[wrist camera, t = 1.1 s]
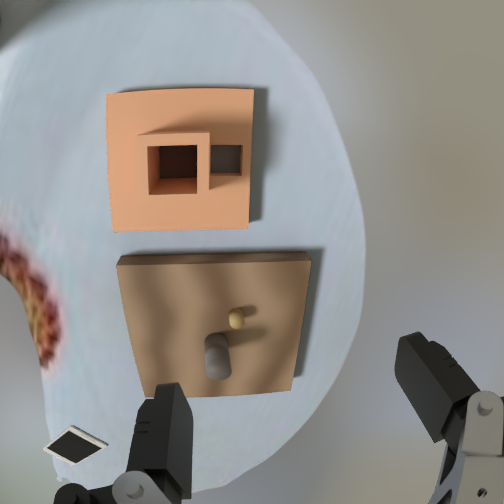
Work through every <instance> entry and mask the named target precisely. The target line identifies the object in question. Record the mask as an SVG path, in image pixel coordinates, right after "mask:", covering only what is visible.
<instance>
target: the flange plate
mask: <svg viewBox="0 0 504 504" xmlns="http://www.w3.org/2000/svg"><path fill="white" fill-rule="evenodd" d="M253 100H254V89H227V88H188V89H162V90H146V91H133V92H123V93H114V94H106V140H107V166H108V182H109V195H110V207H111V217H112V226H113V232H140V231H175V230H222V229H248V223H249V197H250V172H251V148H252V124H253ZM169 145H197V178H163V179H160V165H159V146H169ZM211 145H241V157H240V173H210V169H211Z"/></svg>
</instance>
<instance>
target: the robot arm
mask: <svg viewBox="0 0 504 504" xmlns="http://www.w3.org/2000/svg"><path fill="white" fill-rule="evenodd" d="M395 376H396V379H397V381H398V383H399V384H400V386H401V388H402V389H403V391H404V393H405V394H406V396H407V397H408V399H409V401H410V403H411V404H412V406H413V408H414V409H415V411H416V413H417V414H418V416H419V418H420V419H421V421H422V423H423V424H424V426H425V428H426V430H427V431H428V433H429V435H430V436H431V438H432V440H433V442H434V443H436V442H438V441H440V440H442V439H445V441H446V442H447V445H446V447H445V451H444V456H443V460H442V464H441V469H440V473H439V476H438V480H437V484H436V487H435V490H434V493H433V495H432V497H431V499H430V501H429V503H428V504H503V499H504V397H499V396H498V395H497V394H495V393H493V392H490V391H480V389H479V388H478V387H477V386H476V385H475V383H474V382H473V381H472V380H471V378H470V377H469V376H468V375H467V374H466V372H465V371H464V370H463V369H462V367H461V366H460V365H458V363H457V361H456V360H455V359H454V358H452V357H451V354H450V353H449V352H448V351H447V350H446V348H445V347H444V346H442V345H440V344H438V343H437V342H435V341H430V342H428V340H427V339H426V338H425V337H424V336H423V334H421V333H420V332H415V333H412V334H409V335H406V336H403V337H401V338H400V339H399V343H398V349H397V355H396V361H395ZM192 449H193V415H192V411H191V408H190V406H189V404H188V402H187V399H186V397H185V395H184V393H183V390H182V388H181V386H180V384H179V383H178V382H175V383H165V384H157V386H156V390H155V395H154V399H146V400H145V401H144V403H143V404H142V405H141V407H140V408H139V410H138V414H137V418H136V424H135V428H134V434H133V438H132V443H131V448H130V454H129V459H128V465H127V469H126V472H125V473H123V474H122V475H120V476H119V477H118V478H117V479H116V480H115V482H114V484H112V485H110V486H106V487H102V488H97V489H92V490H87V489H85V488H84V487H83V486H82V485H80V484H76V483H70V484H66V485H64V486H62V487H61V488H60V489H59V490H58V491H57V493H56V495H55V499H54V503H53V504H181V500H182V499H191V488H192Z"/></svg>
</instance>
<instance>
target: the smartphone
mask: <svg viewBox="0 0 504 504" xmlns="http://www.w3.org/2000/svg"><path fill="white" fill-rule="evenodd" d="M106 447H107V444H106V443H104V442H102V441H100V440H98V439H96V438H95V437H93V436H91V435H89V434H87V433H85V432H84V431H82V430H80V429H78V428H76V427H75V426H73V425H71V426H69V427H68V428H67V429H66V430H64V431H63V432H62V433H61V434H59V435H58V436H57V437H56V438H55V439H53V440H52V441H51V442H50V441H49V442H48V443H47V444H46V445H45V446H44V448H43V450H44V451H46V452H48V453H49V454H51V455H53V456H55V457H57V458H59V459H60V460H62V461H64V462H66V463H68V464H70V465H72V466H74V465H76V464H78V463H80V462H82V461H83V460H85V459H87V458H89V457H90V456H92V455H94V454H96V453H97V452H99V451H101V450H102V449H104V448H106Z"/></svg>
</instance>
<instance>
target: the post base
mask: <svg viewBox="0 0 504 504" xmlns="http://www.w3.org/2000/svg"><path fill="white" fill-rule="evenodd" d="M116 268H117V274H118V280H119V286H120V292H121V297H122V303H123V308H124V313H125V318H126V323H127V327H128V332H129V336H130V341H131V345H132V349H133V353H134V357H135V361H136V365H137V369H138V373H139V377H140V380H141V384H142V388H143V391H144V394H145V397H154V395H155V390H156V386H157V384H165V383H175V382H178V383H179V384H180V386H181V388H182V390H183V393H184V395H185V397H186V398H189V397H219V396H237V395H250V394H262V393H272V392H281V391H290V390H291V387H292V381H293V376H294V370H295V365H296V359H297V353H298V348H299V342H300V336H301V329H302V323H303V317H304V310H305V304H306V297H307V290H308V283H309V276H310V268H311V259H310V258H309V256H308V255H307V254H306V252H283V253H241V254H198V255H154V256H121V257H120V259H119V261H118V263H117V265H116Z"/></svg>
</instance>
